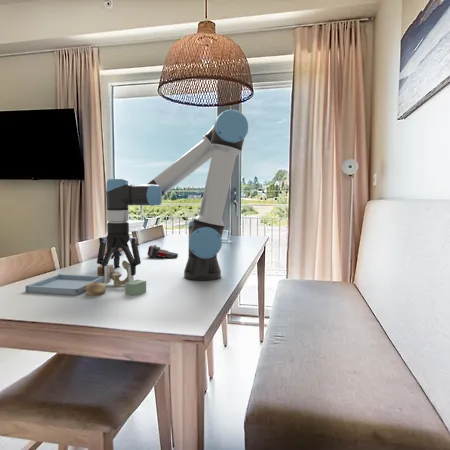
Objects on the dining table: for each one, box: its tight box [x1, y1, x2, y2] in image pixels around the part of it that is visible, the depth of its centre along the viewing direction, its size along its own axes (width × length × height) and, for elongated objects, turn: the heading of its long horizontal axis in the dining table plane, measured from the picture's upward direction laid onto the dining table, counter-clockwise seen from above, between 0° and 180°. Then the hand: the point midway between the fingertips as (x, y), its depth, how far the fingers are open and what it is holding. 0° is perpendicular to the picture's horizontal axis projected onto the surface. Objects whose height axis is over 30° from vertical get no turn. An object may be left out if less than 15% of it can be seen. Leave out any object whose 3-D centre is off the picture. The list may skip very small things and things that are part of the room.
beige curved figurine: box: [110, 260, 130, 287], centre depth 135 cm, size 9×6×10 cm
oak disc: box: [85, 282, 106, 297], centre depth 124 cm, size 6×6×3 cm
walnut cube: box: [96, 264, 114, 281], centre depth 146 cm, size 5×5×5 cm
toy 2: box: [146, 244, 179, 259], centre depth 195 cm, size 9×6×15 cm
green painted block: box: [124, 278, 147, 297], centre depth 125 cm, size 4×6×4 cm, turn 150°
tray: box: [24, 273, 105, 296], centre depth 132 cm, size 19×19×2 cm
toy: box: [106, 240, 124, 269], centre depth 166 cm, size 9×8×15 cm
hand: (119, 283), depth 135 cm, fingers closed on beige curved figurine, 8 cm apart
